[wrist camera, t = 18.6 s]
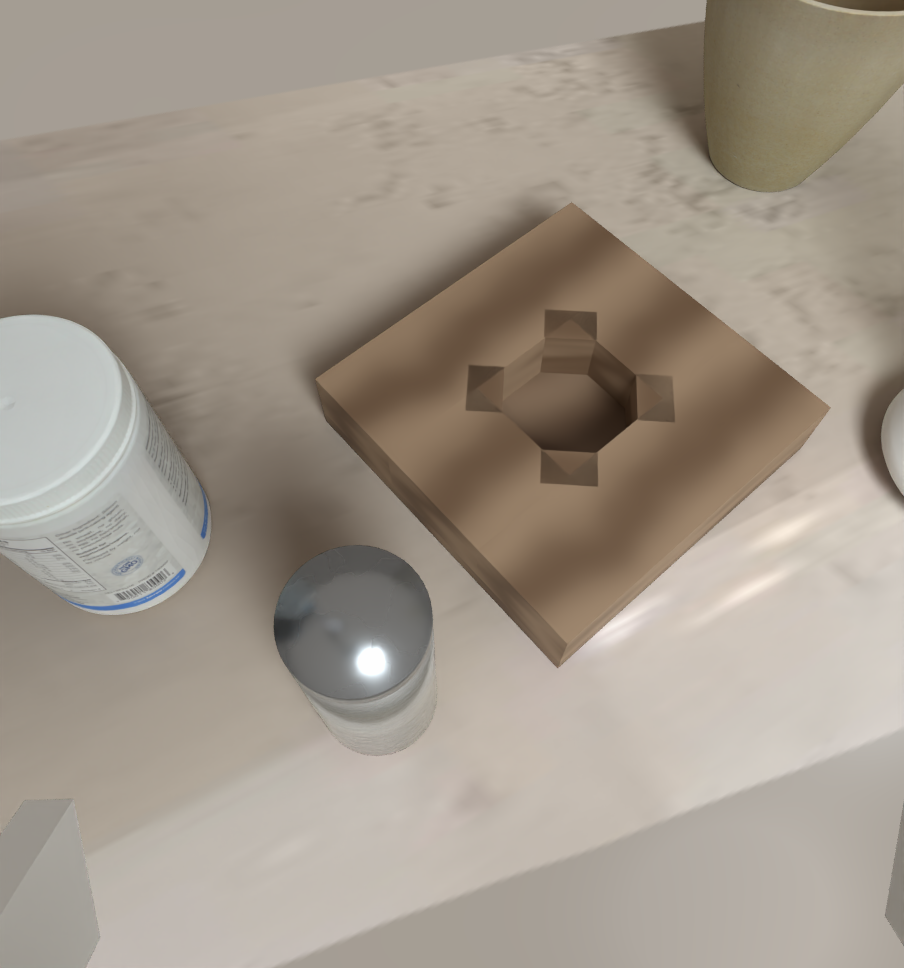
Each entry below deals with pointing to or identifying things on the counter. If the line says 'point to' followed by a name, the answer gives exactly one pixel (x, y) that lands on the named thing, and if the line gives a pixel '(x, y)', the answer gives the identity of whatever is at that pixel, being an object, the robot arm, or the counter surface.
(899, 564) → the counter surface
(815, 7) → the plant pot
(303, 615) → the silver capped jar
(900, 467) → the flower in vase
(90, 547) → the supplement tub
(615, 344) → the walnut socket block
